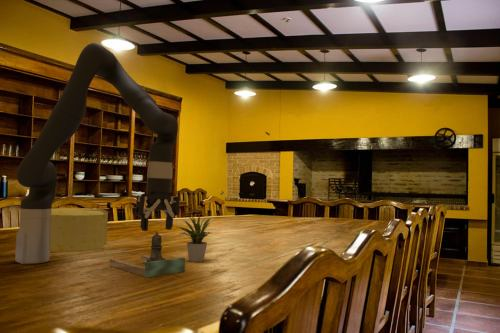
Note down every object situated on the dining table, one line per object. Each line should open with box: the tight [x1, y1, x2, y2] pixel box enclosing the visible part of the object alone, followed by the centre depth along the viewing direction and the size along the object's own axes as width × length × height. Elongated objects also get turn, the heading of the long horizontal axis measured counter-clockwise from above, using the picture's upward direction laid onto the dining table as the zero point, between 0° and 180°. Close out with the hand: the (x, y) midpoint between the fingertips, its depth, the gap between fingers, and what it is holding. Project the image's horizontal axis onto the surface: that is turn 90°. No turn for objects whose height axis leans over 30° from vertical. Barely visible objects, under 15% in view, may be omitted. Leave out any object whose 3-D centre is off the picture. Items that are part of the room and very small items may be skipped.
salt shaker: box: [146, 231, 166, 262], centre depth 128 cm, size 6×6×12 cm
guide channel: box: [109, 254, 186, 278], centre depth 132 cm, size 13×22×4 cm, turn 47°
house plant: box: [176, 214, 212, 263], centre depth 149 cm, size 14×14×16 cm
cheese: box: [50, 207, 109, 253], centre depth 171 cm, size 26×26×15 cm
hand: (156, 230), depth 129 cm, fingers open, 8 cm apart
